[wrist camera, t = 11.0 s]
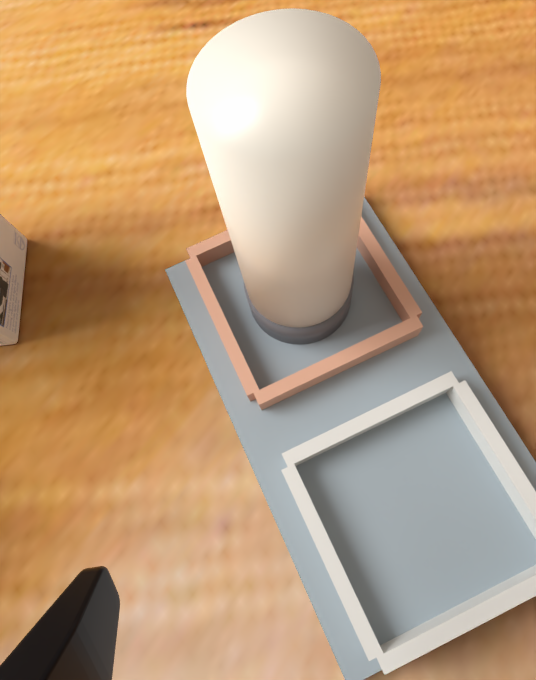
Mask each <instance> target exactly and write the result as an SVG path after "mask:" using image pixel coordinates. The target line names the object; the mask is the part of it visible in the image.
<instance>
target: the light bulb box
mask: <svg viewBox="0 0 536 680" xmlns="http://www.w3.org/2000/svg"><path fill="white" fill-rule="evenodd" d="M26 252H27V238H26V237H25V236H24V235H22V234H21V233H20V232H19V231H18V230H17V229H16V228H15V227H14V226H13V225H12V224H10V223H9V222H8V221H7V220H6V219H5V218H4V217H3V216H2V215H1V214H0V346H1V345H10V344H16V343H17V342H18V335H19V325H20V314H21V303H22V293H23V283H24V272H25V262H26Z"/></svg>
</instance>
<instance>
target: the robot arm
mask: <svg viewBox="0 0 536 680" xmlns="http://www.w3.org/2000/svg"><path fill="white" fill-rule="evenodd" d="M119 610H120V599H119V595H118V592H117V590H116V587H115V585H114V583H113V580H112V578H111V576H110V573H109V571H108V569H107V568H106V567H104V566H99V567H93V568H87V569H84V570H83V571H81V572H80V573H79V574H78V575H77V577H76V578H75V579H74V580H73V581H72V582H71V584H70V585H69V586H68V587H67V588H66V589H65V591H64V592H63V593H62V594H61V595H60V596H59V598H58V599H57V600H56V601H55V602H54V603H53V605H52V606H51V607H50V608H49V609H48V610H47V612H46V613H45V614H44V615H43V616H42V617H41V619H40V620H39V621H38V622H37V623H36V624H35V626H34V627H33V628H32V629H31V630H30V631H29V633H28V634H27V635H26V636H25V637H24V639H23V640H22V641H21V642H20V643H19V644H18V646H17V647H16V648H15V649H14V650H13V651H12V653H11V654H10V655H9V656H8V657H7V658H6V660H5V661H4V662H3V663H2V664H1V665H0V680H112V673H113V664H114V655H115V646H116V637H117V628H118V619H119Z"/></svg>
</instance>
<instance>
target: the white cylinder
mask: <svg viewBox="0 0 536 680" xmlns="http://www.w3.org/2000/svg"><path fill="white" fill-rule="evenodd" d="M380 83H381V71H380V66H379V61H378V59H377V56H376V53H375V51H374V50H373V48H372V46H371V44H370V43H369V42H368V41H367V39H366V38H365V37H364V36H363V35H362V34H361V33H360V32H359V31H358V30H357V29H355V28H354V27H353V26H351V25H350V24H348V23H347V22H345V21H343V20H341V19H339V18H337V17H334V16H332V15H329V14H326V13H322V12H318V11H313V10H307V9H278V10H271V11H266V12H262V13H258V14H255V15H252V16H249V17H246V18H244V19H241V20H239V21H237V22H235V23H233V24H231V25H230V26H228V27H226V28H225V29H223V30H222V31H221V32H219V33H218V34H216V35H215V36H214V37H213V38H212V39H211V40H210V41H209V42H208V43H207V44H206V45H205V46H204V47H203V48H202V50H201V51H200V53H199V54H198V56H197V57H196V59H195V61H194V63H193V65H192V67H191V69H190V72H189V76H188V81H187V101H188V106H189V109H190V113H191V116H192V119H193V122H194V125H195V128H196V131H197V135H198V138H199V141H200V144H201V147H202V150H203V154H204V157H205V160H206V163H207V166H208V169H209V173H210V176H211V179H212V182H213V185H214V188H215V192H216V195H217V198H218V201H219V204H220V207H221V211H222V214H223V217H224V220H225V223H226V226H227V230H228V233H229V236H230V239H231V242H232V245H233V249H234V252H235V255H236V258H237V261H238V264H239V268H240V271H241V274H242V277H243V280H244V289H245V294H246V297H247V300H248V303H249V306H250V309H251V312H252V315H253V317H254V319H255V321H256V323H257V324H258V325H259V327H260V328H261V329H262V330H263V331H264V332H265V333H267V334H268V335H269V336H271V337H273V338H274V339H276V340H279V341H281V342H285V343H289V344H299V345H301V344H310V343H314V342H317V341H320V340H322V339H324V338H326V337H328V336H329V335H331V334H332V333H334V332H335V331H336V330H337V329H338V328H339V327H340V326H341V324H342V323H343V322H344V320H345V318H346V316H347V314H348V312H349V309H350V304H351V298H352V291H353V285H354V273H353V269H354V262H355V256H356V249H357V242H358V235H359V228H360V221H361V214H362V207H363V200H364V194H365V187H366V180H367V173H368V166H369V159H370V152H371V145H372V139H373V132H374V125H375V118H376V111H377V104H378V97H379V90H380Z"/></svg>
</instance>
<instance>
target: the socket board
mask: <svg viewBox="0 0 536 680" xmlns="http://www.w3.org/2000/svg"><path fill="white" fill-rule="evenodd" d="M186 249H187V252H188V254H189V256H190V258H189V259H187V260H185V261H183V262H181V263H178V264H176V265H174V266H172V267H170V268H167V269H165V271H166V273H167V275H168V277H169V280H170V282H171V284H172V287H173V289H174V291H175V293H176V296H177V298H178V300H179V302H180V305H181V307H182V309H183V312H184V314H185V316H186V318H187V321H188V323H189V325H190V328H191V330H192V332H193V334H194V337H195V339H196V341H197V343H198V346H199V348H200V350H201V353H202V355H203V357H204V359H205V362H206V364H207V366H208V369H209V371H210V373H211V375H212V378H213V380H214V382H215V384H216V387H217V389H218V391H219V394H220V396H221V398H222V400H223V403H224V405H225V407H226V410H227V412H228V414H229V416H230V419H231V421H232V423H233V425H234V428H235V430H236V432H237V435H238V437H239V439H240V441H241V444H242V446H243V448H244V451H245V453H246V455H247V457H248V460H249V462H250V464H251V466H252V469H253V471H254V473H255V476H256V478H257V480H258V482H259V485H260V487H261V489H262V492H263V494H264V496H265V498H266V501H267V503H268V505H269V507H270V510H271V512H272V514H273V517H274V519H275V521H276V523H277V526H278V528H279V530H280V533H281V535H282V537H283V539H284V542H285V544H286V546H287V548H288V551H289V553H290V555H291V558H292V560H293V562H294V564H295V567H296V569H297V571H298V574H299V576H300V578H301V580H302V583H303V585H304V587H305V589H306V592H307V594H308V596H309V599H310V601H311V603H312V605H313V608H314V610H315V612H316V615H317V617H318V619H319V621H320V624H321V626H322V628H323V630H324V633H325V635H326V637H327V640H328V642H329V644H330V646H331V649H332V651H333V653H334V656H335V658H336V660H337V662H338V665H339V667H340V669H341V671H342V674H343V676H344V678H345V680H364V679H366V678H368V677H370V676H371V675H373V674H375V673H377V672H379V671H381V670H382V671H383V673H384V675H386V674H388V673H389V672H391V671H393V670H395V669H397V668H399V667H401V666H403V665H405V664H407V663H409V662H411V661H412V660H414V659H416V658H418V657H420V656H422V655H424V654H426V653H428V652H430V651H432V650H433V649H435V648H437V647H439V646H441V645H443V644H445V643H447V642H449V641H451V640H453V639H454V638H456V637H458V636H460V635H462V634H464V633H466V632H468V631H470V630H472V629H474V628H475V627H477V626H479V625H481V624H483V623H485V622H487V621H489V620H491V619H493V618H495V617H496V616H498V615H500V614H502V613H504V612H506V611H508V610H510V609H512V608H514V607H516V606H517V605H519V604H521V603H523V602H525V601H527V600H529V599H531V598H533V597H535V596H536V461H535V460H534V458H533V457H532V455H531V454H530V452H529V451H528V449H527V448H526V446H525V444H524V443H523V441H522V440H521V438H520V437H519V435H518V434H517V432H516V431H515V429H514V427H513V426H512V424H511V423H510V421H509V420H508V418H507V417H506V415H505V414H504V412H503V410H502V409H501V407H500V406H499V404H498V403H497V401H496V400H495V398H494V397H493V395H492V393H491V392H490V390H489V389H488V387H487V386H486V384H485V383H484V381H483V380H482V378H481V376H480V375H479V373H478V372H477V370H476V369H475V367H474V366H473V364H472V363H471V361H470V359H469V358H468V356H467V355H466V353H465V352H464V350H463V349H462V347H461V346H460V344H459V342H458V341H457V339H456V338H455V336H454V335H453V333H452V332H451V330H450V329H449V327H448V325H447V324H446V322H445V321H444V319H443V318H442V316H441V315H440V313H439V312H438V310H437V308H436V307H435V305H434V304H433V302H432V301H431V299H430V298H429V296H428V295H427V293H426V291H425V290H424V288H423V287H422V285H421V284H420V282H419V281H418V279H417V278H416V276H415V274H414V273H413V271H412V270H411V268H410V267H409V265H408V264H407V262H406V261H405V259H404V257H403V256H402V254H401V253H400V251H399V250H398V248H397V247H396V245H395V244H394V242H393V240H392V239H391V237H390V236H389V234H388V233H387V231H386V230H385V228H384V227H383V225H382V223H381V222H380V220H379V219H378V217H377V216H376V214H375V213H374V211H373V210H372V208H371V206H370V205H369V203H368V202H367V200H366V199H365V197H364V200H363V207H362V214H361V221H360V228H359V235H358V242H357V249H356V256H355V262H354V269H353V273H354V285H353V291H352V298H351V304H350V309H349V312H348V314H347V316H346V318H345V320H344V322H343V323H342V324H341V326H340V327H339V328H338V329H337V330H336V331H335V332H334V333H332V334H331V335H329V336H328V337H326V338H324V339H322V340H320V341H317V342H314V343H310V344H301V345H299V344H289V343H285V342H281V341H279V340H276V339H274V338H273V337H271V336H269V335H268V334H267V333H265V332H264V331H263V330H262V329H261V328H260V327H259V325H258V324H257V323H256V321H255V319H254V317H253V315H252V312H251V309H250V306H249V303H248V300H247V297H246V294H245V289H244V280H243V277H242V274H241V271H240V268H239V264H238V261H237V258H236V255H235V252H234V249H233V245H232V242H231V239H230V236H229V233H228V230H226V231H224V232H222V233H219V234H217V235H215V236H213V237H211V238H208V239H206V240H204V241H202V242H200V243H197V244H195V245H193V246H191V247H188V248H186Z"/></svg>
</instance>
